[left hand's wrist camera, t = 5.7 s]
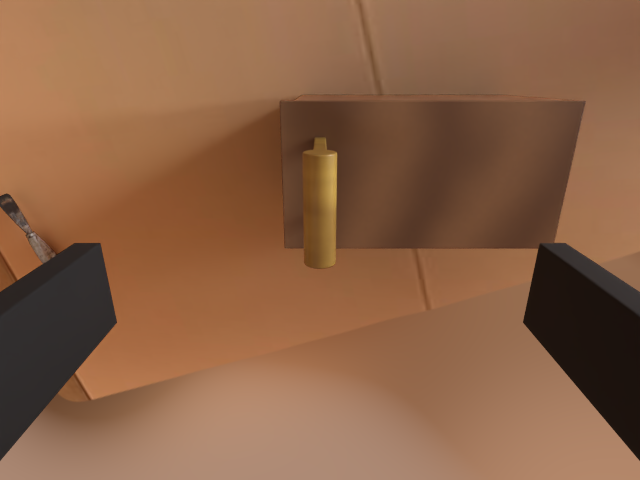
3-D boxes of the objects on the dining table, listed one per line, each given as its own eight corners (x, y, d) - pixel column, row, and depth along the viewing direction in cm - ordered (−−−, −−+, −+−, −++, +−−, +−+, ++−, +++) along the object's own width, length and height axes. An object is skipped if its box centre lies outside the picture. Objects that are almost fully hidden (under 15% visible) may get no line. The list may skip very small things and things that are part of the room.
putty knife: (56, 266, 41) (46, 274, 39) (2, 196, 38) (-12, 201, 36) (65, 262, 40) (54, 270, 39) (10, 191, 38) (-3, 196, 36)
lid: (285, 243, 28) (272, 304, 20) (281, 100, 25) (263, 108, 17) (545, 243, 28) (630, 304, 20) (576, 100, 25) (692, 108, 17)
